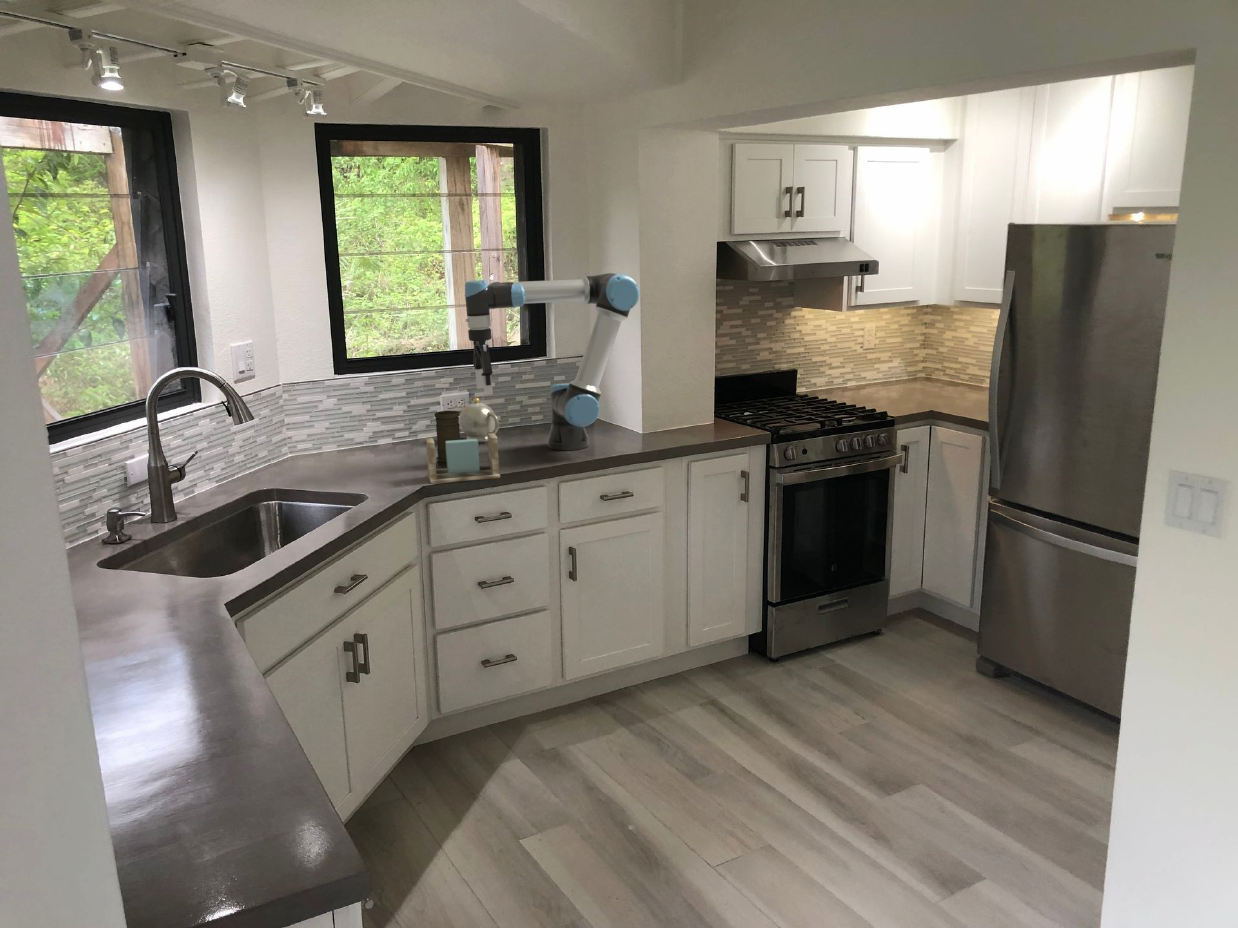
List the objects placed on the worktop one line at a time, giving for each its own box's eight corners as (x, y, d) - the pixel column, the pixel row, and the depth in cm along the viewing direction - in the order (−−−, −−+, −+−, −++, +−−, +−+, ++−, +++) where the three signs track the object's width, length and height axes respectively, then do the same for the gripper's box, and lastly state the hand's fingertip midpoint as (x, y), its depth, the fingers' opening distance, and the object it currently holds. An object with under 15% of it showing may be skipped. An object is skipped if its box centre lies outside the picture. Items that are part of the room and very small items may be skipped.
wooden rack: (494, 469, 322) (493, 432, 319) (500, 477, 312) (498, 438, 309) (427, 475, 317) (425, 436, 313) (431, 483, 306) (428, 444, 303)
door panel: (478, 471, 317) (476, 438, 314) (479, 473, 314) (478, 440, 311) (447, 474, 314) (445, 441, 312) (448, 476, 311) (446, 443, 308)
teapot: (451, 441, 364) (448, 398, 360) (476, 435, 375) (474, 393, 371) (486, 447, 354) (484, 403, 350) (511, 440, 364) (509, 397, 360)
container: (458, 468, 325) (455, 415, 321) (432, 467, 327) (429, 414, 322) (467, 461, 333) (464, 410, 329) (442, 460, 335) (439, 409, 331)
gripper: (461, 325, 330) (467, 386, 336) (475, 333, 307) (480, 398, 313) (483, 323, 333) (488, 384, 338) (498, 331, 310) (503, 396, 315)
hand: (484, 391), depth 325 cm, fingers open, 13 cm apart
